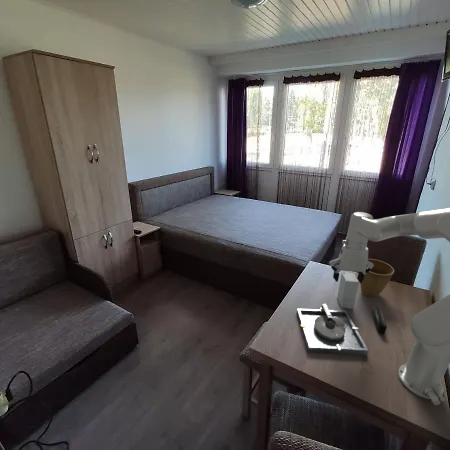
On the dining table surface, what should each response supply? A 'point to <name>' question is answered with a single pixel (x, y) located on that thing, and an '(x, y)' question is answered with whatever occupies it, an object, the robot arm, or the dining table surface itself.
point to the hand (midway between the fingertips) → (347, 280)
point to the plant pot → (376, 278)
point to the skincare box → (347, 290)
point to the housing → (318, 344)
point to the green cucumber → (379, 320)
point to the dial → (329, 325)
